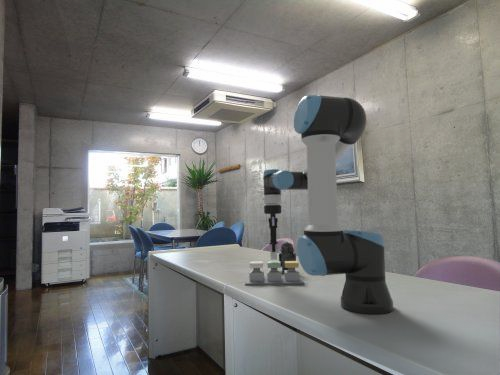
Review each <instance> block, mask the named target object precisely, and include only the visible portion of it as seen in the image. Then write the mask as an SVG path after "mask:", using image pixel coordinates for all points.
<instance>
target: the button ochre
mask: <svg viewBox="0 0 500 375" xmlns="http://www.w3.org/2000/svg"><path fill="white" fill-rule="evenodd" d="M299 264H300V263H299V260H296V261H285V268H288V272H295V270H296V269H298V268H299Z"/></svg>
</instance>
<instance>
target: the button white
mask: <svg viewBox="0 0 500 375" xmlns="http://www.w3.org/2000/svg"><path fill="white" fill-rule="evenodd" d="M249 268H250V269H252V271H253V273H260V270H261V269H263V268H264V261H262V260H261V261H260V260H259V261H256V260H255V261H253V260H252V261H250V262H249Z"/></svg>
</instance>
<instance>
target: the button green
mask: <svg viewBox="0 0 500 375" xmlns="http://www.w3.org/2000/svg"><path fill="white" fill-rule="evenodd" d="M280 268H281V269H282V267H281V263H280V261H279V260H277V261H276V260H271V261H270V260H268V261H267V269H270V270H271V272H278V269H280Z"/></svg>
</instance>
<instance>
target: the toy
mask: <svg viewBox="0 0 500 375" xmlns="http://www.w3.org/2000/svg"><path fill="white" fill-rule="evenodd" d="M279 251H280V253H279V254H278V261H280V263H281V274H282V275H284V270H288V268H285V261H297V254H296V253H295V249H294V244H292V243H290V242H288V241H286V242H284V243H281V245H280V249H279Z"/></svg>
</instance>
